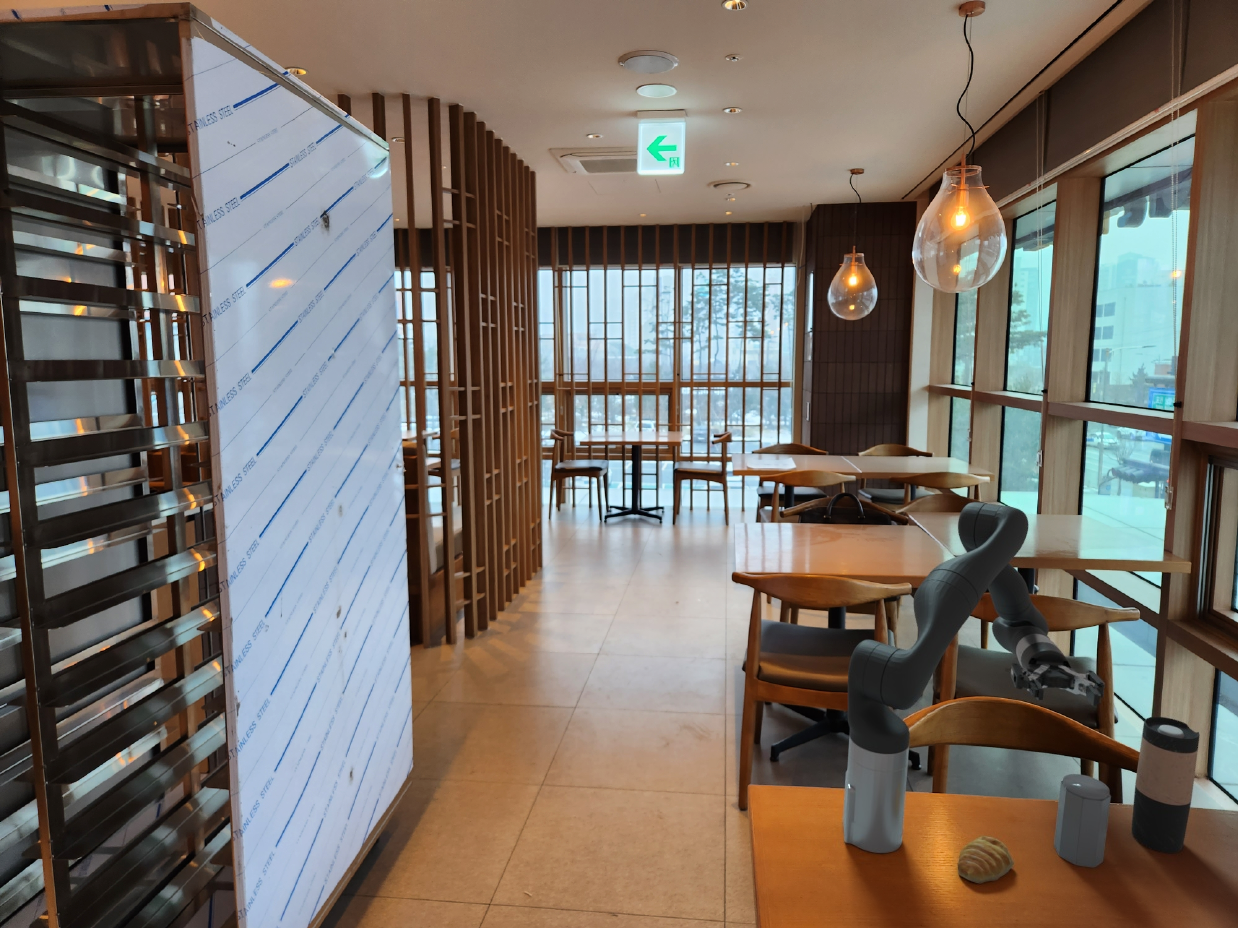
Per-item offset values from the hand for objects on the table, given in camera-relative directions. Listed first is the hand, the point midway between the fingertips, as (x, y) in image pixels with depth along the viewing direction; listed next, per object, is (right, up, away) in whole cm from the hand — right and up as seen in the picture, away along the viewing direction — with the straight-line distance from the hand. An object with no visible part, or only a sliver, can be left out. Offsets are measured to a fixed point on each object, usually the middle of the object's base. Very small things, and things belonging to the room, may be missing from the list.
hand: (1068, 698), depth 136 cm
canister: (-3, -23, -8) cm, 24 cm away
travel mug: (+12, -22, -4) cm, 26 cm away
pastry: (-20, -24, -11) cm, 33 cm away
